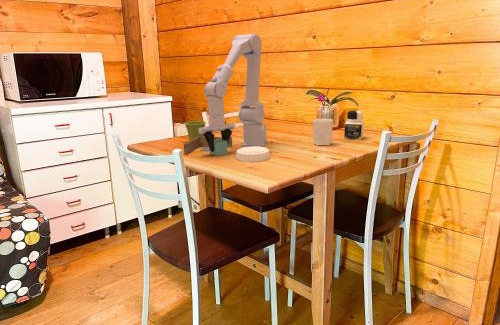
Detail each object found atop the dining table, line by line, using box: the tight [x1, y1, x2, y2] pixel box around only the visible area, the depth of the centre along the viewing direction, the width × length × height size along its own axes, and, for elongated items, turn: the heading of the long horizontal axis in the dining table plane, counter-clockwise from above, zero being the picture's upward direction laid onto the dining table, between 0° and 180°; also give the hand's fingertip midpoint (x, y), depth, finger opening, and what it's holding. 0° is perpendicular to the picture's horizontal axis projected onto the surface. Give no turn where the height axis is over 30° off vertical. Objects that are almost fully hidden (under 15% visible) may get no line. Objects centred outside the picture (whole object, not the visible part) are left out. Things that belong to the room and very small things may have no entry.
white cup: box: [312, 118, 334, 146], centre depth 154 cm, size 8×8×10 cm
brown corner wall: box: [183, 136, 233, 155], centre depth 151 cm, size 15×15×4 cm
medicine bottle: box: [343, 110, 365, 141], centre depth 164 cm, size 7×7×12 cm
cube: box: [209, 139, 229, 157], centre depth 144 cm, size 5×5×5 cm
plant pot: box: [183, 120, 207, 141], centre depth 167 cm, size 9×9×9 cm
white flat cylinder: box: [235, 146, 271, 163], centre depth 137 cm, size 12×12×4 cm
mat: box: [199, 147, 210, 152], centre depth 153 cm, size 7×7×1 cm
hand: (218, 150), depth 144 cm, fingers closed on cube, 5 cm apart
